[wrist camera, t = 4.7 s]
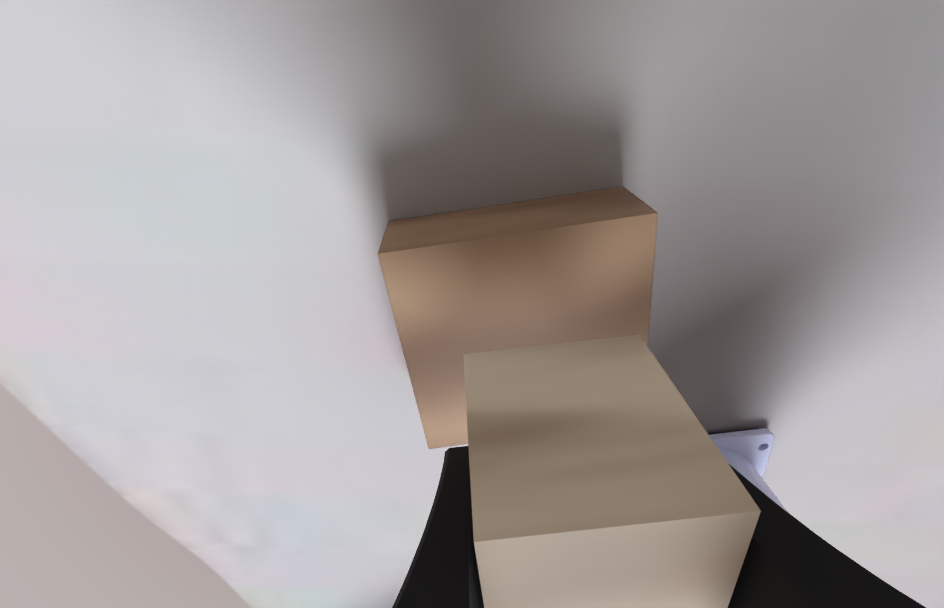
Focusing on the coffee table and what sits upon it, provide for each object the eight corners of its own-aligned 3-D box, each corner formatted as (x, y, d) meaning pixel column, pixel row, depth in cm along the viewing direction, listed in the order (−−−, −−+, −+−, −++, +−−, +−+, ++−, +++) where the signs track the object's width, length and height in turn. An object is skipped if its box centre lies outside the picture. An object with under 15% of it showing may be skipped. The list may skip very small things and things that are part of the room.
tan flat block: (614, 368, 22) (641, 419, 19) (430, 393, 22) (428, 449, 19) (620, 183, 17) (657, 212, 14) (389, 218, 17) (377, 253, 14)
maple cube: (626, 458, 14) (712, 650, 9) (479, 474, 14) (494, 674, 9) (639, 334, 11) (761, 511, 7) (463, 354, 11) (473, 542, 7)
